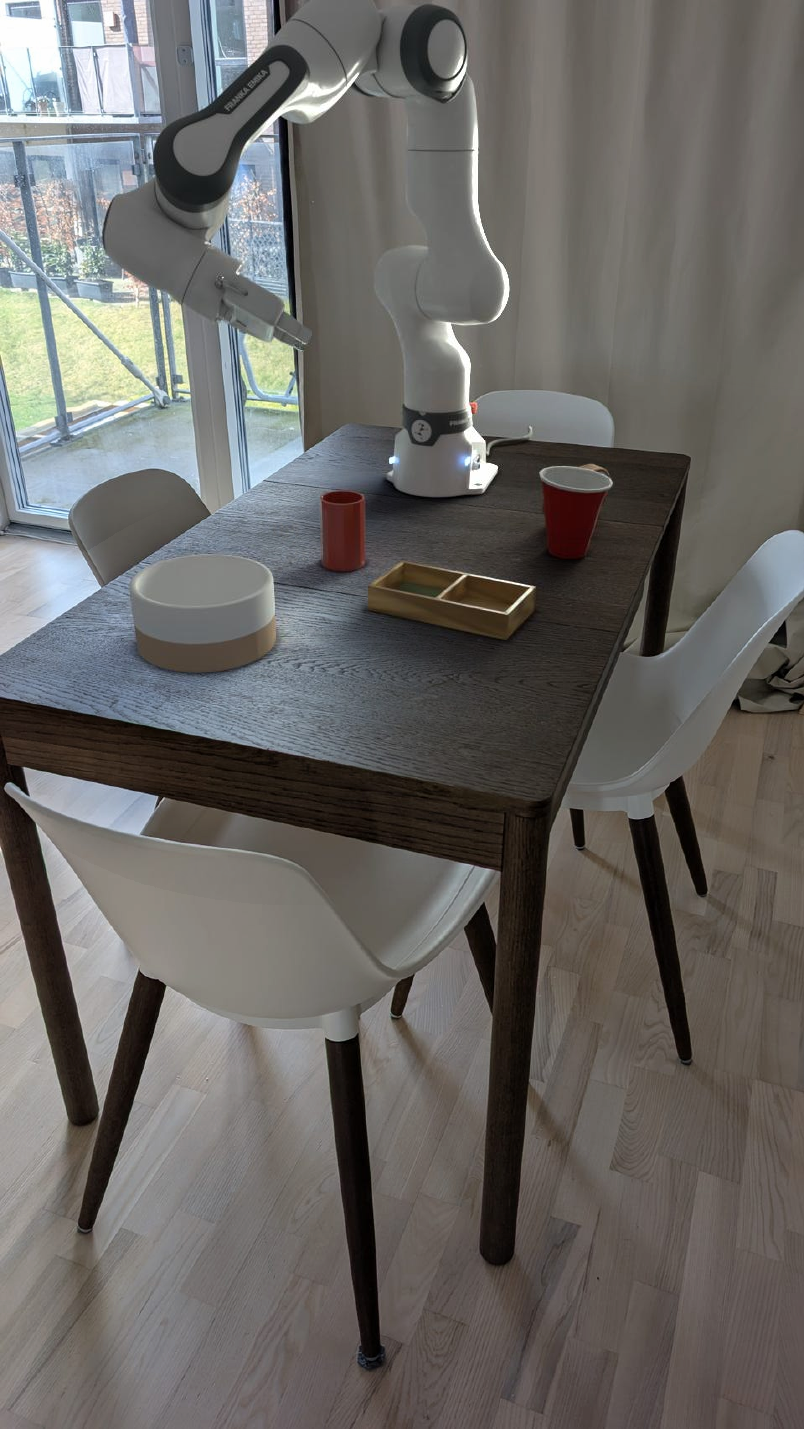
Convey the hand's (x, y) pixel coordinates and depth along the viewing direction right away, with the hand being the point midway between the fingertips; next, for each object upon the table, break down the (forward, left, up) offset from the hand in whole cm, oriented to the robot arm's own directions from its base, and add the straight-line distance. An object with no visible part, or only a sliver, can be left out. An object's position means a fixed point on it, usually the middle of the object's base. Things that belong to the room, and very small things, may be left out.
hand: (308, 343), depth 142 cm
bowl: (+33, +4, -30) cm, 45 cm away
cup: (+2, +6, -30) cm, 31 cm away
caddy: (+10, +27, -30) cm, 42 cm away
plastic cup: (-18, +34, -30) cm, 49 cm away
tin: (-33, +30, -30) cm, 54 cm away
